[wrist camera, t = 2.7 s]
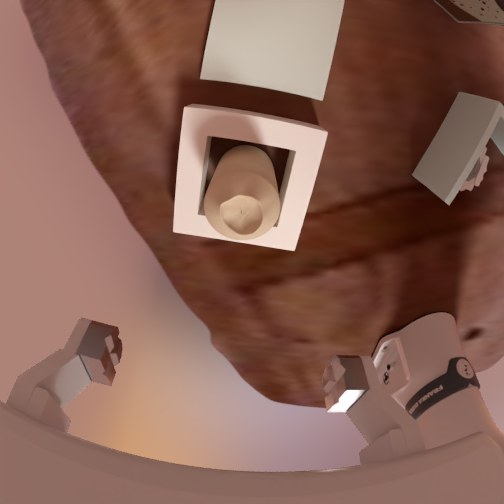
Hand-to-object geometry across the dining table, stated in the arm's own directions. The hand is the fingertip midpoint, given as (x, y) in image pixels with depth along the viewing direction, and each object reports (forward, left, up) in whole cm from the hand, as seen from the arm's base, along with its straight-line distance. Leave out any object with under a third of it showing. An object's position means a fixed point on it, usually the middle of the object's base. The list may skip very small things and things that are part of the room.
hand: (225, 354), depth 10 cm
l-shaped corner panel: (+8, -25, -22) cm, 34 cm away
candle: (0, 0, -21) cm, 21 cm away
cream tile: (+14, 0, -21) cm, 25 cm away
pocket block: (0, 0, -21) cm, 21 cm away
